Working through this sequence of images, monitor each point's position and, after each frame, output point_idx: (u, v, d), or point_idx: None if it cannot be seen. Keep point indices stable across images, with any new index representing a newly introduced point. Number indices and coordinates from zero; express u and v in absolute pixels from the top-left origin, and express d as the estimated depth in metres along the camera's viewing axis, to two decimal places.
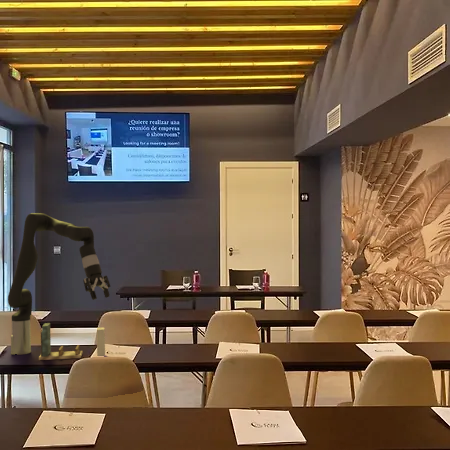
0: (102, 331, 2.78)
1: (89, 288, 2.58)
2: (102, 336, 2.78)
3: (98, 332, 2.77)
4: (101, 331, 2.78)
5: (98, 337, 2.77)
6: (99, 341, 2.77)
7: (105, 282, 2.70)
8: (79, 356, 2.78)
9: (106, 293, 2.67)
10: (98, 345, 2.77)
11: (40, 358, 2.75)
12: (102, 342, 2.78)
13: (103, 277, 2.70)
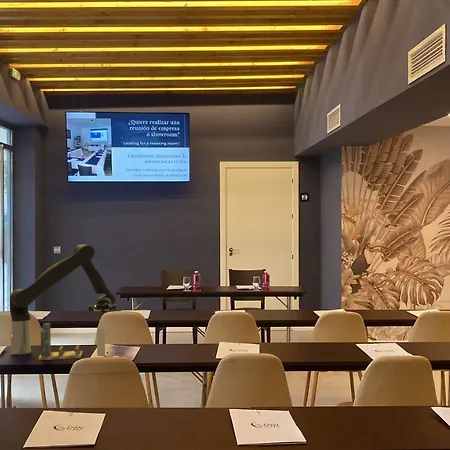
0: (102, 331, 2.78)
1: (115, 309, 2.97)
2: (102, 336, 2.78)
3: (98, 332, 2.77)
4: (101, 331, 2.78)
5: (98, 337, 2.77)
6: (99, 341, 2.77)
7: None
8: (79, 356, 2.78)
9: None
10: (98, 345, 2.77)
11: (40, 358, 2.75)
12: (102, 342, 2.78)
13: (93, 308, 3.00)
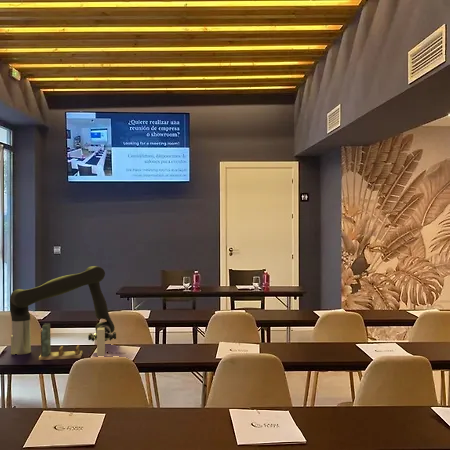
0: (102, 331, 2.78)
1: (115, 338, 2.93)
2: (102, 336, 2.78)
3: (98, 332, 2.77)
4: (101, 331, 2.78)
5: (98, 337, 2.77)
6: (99, 341, 2.77)
7: (91, 336, 2.93)
8: (79, 356, 2.78)
9: None
10: (98, 345, 2.77)
11: (40, 358, 2.75)
12: (102, 342, 2.78)
13: None
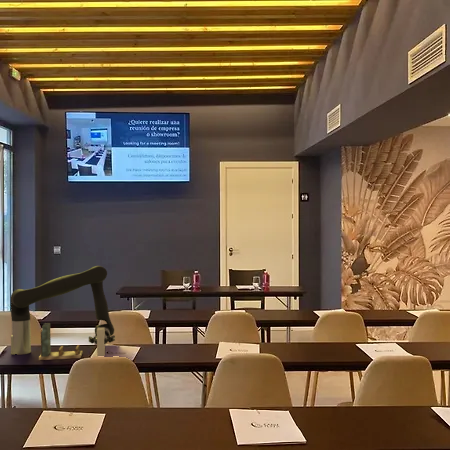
0: (102, 331, 2.78)
1: None
2: (102, 336, 2.78)
3: (98, 332, 2.77)
4: (101, 331, 2.78)
5: (98, 337, 2.77)
6: (99, 341, 2.77)
7: None
8: (79, 356, 2.78)
9: None
10: (98, 345, 2.77)
11: (40, 358, 2.75)
12: (102, 342, 2.78)
13: None
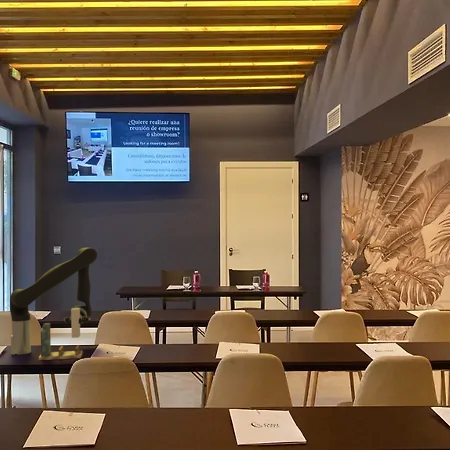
0: (76, 311, 2.79)
1: (85, 322, 2.84)
2: (76, 316, 2.79)
3: (72, 312, 2.78)
4: (75, 311, 2.79)
5: (72, 317, 2.78)
6: (73, 321, 2.78)
7: None
8: (79, 356, 2.78)
9: None
10: (72, 325, 2.78)
11: (40, 358, 2.75)
12: (76, 322, 2.79)
13: None
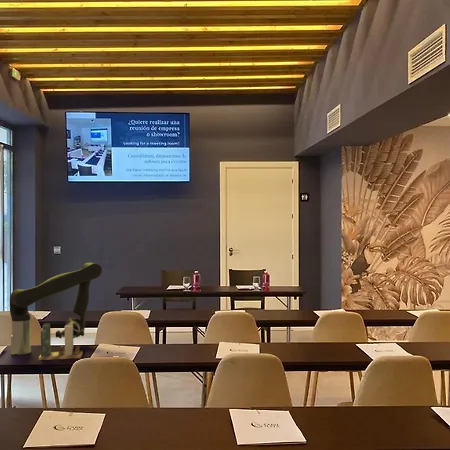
0: (70, 328, 2.79)
1: (83, 335, 2.86)
2: (70, 333, 2.79)
3: (66, 329, 2.79)
4: (69, 328, 2.79)
5: (66, 334, 2.79)
6: (67, 338, 2.79)
7: (58, 333, 2.86)
8: (79, 356, 2.78)
9: (61, 336, 2.81)
10: (66, 342, 2.79)
11: (40, 358, 2.75)
12: (70, 339, 2.79)
13: None
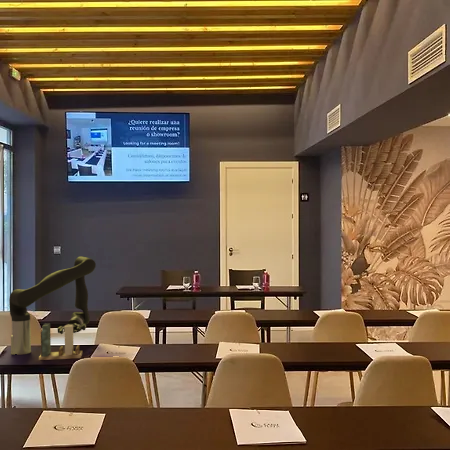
0: (70, 328, 2.79)
1: (84, 329, 2.98)
2: (70, 333, 2.79)
3: (66, 329, 2.79)
4: (69, 328, 2.79)
5: (66, 334, 2.79)
6: (67, 338, 2.79)
7: (61, 329, 2.99)
8: (79, 356, 2.78)
9: (62, 332, 2.94)
10: (66, 342, 2.79)
11: (40, 358, 2.75)
12: (70, 339, 2.79)
13: None
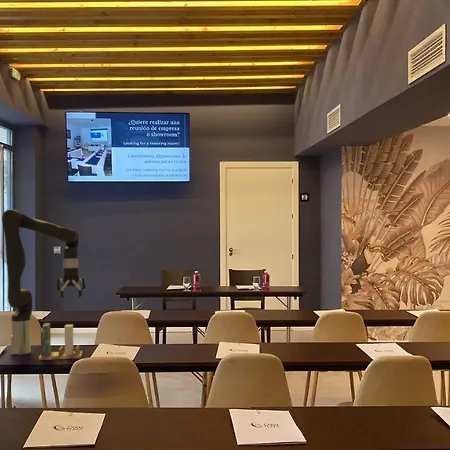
0: (70, 328, 2.79)
1: (57, 288, 2.93)
2: (70, 333, 2.79)
3: (66, 329, 2.79)
4: (69, 328, 2.79)
5: (66, 334, 2.79)
6: (67, 338, 2.79)
7: (82, 283, 2.96)
8: (79, 356, 2.78)
9: (79, 294, 2.95)
10: (66, 342, 2.79)
11: (40, 358, 2.75)
12: (70, 339, 2.79)
13: (80, 278, 2.95)
